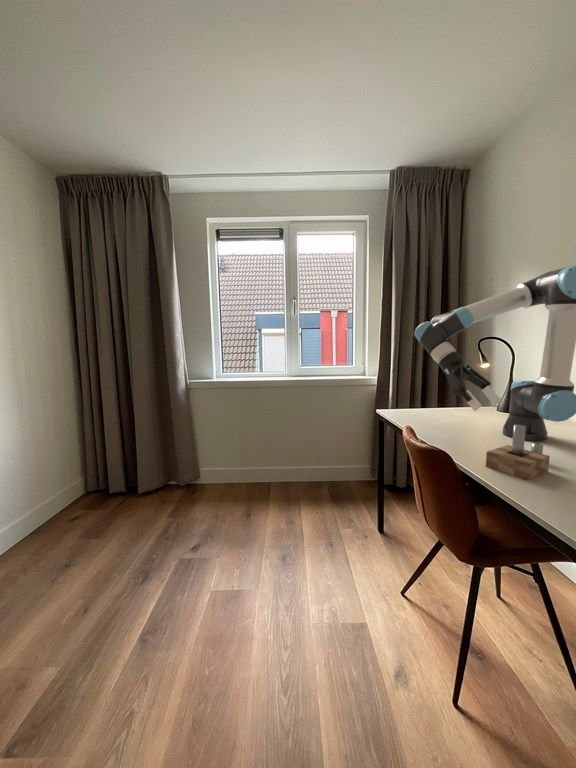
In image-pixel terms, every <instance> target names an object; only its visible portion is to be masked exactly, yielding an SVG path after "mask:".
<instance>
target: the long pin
mask: <svg viewBox="0 0 576 768" xmlns="http://www.w3.org/2000/svg"><path fill="white" fill-rule="evenodd" d="M525 430H526V426H525V425H521V424H514V430H513V438H512V441H511V442H512V443H511V446H512V453H511V455H515V456H518V457H523V452H524V449H525V441H526V440H525Z"/></svg>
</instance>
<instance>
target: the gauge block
mask: <svg viewBox="0 0 576 768" xmlns="http://www.w3.org/2000/svg"><path fill="white" fill-rule="evenodd" d="M511 453H512V445H509V444H505V445H503V446H500V447H498V448H494V449H490V450H488V451H486V456H485V457H486V458H485V468H489V469H491V470H495V471H498V472H501V473H504V474H507V475H510V476H512V477H516V478H518V479H519V478H520V479H522V480H525V481H530V480H532V479H534V478H536V477H539V476H541V475H544V474H545V473H548V472H549V466H550V465H549V464H550V455H547V454H540V453H536V452H532V451H531V450H528V449H525V448H524V452H523V457H518V456H515V455H511Z"/></svg>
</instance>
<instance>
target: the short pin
mask: <svg viewBox="0 0 576 768" xmlns="http://www.w3.org/2000/svg"><path fill="white" fill-rule="evenodd" d="M530 448H531V450H530V451H532V452H536V453H540V454H543V452H544V444H543V443H540V442H531V447H530Z"/></svg>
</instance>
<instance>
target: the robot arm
mask: <svg viewBox="0 0 576 768" xmlns="http://www.w3.org/2000/svg"><path fill="white" fill-rule="evenodd" d="M538 305H544V307H545V308H546V309H547V310H548V312H549V313H548V319H547V325H546V326H547V327H546V333H545V339H544V346H543V352H542V360H541V364H540V365H541V366H540V373H539V377H538V378H537V379H535V380H514V381H513V382H512V383H511V386H510V389H509V390H510V397H509V408H508V409H509V410H508V416H507V419H506V421H505V423H504V425H503V427H502V434H503V435H504V436H506V437H509V438H512V439H513V430H514V424H521V425H525V426H526V430H525V441H531V442H540V441H541V442H543V441H547V439H548V436H549V435H548V433H549V432H548V429H547V426H546V423H545V421H544V420H546V421H551V422H555V423H556V422H559V423H560V422H564V421H567V420H570V418H572V417H574V416H575V415H576V394H575V393H574V389H575V383H573V382H572V381H571V380H570V379H571V374H572V368H573V361H574V356H575V349H576V264H572V265H566V266H564V267H562V268H559V269H555V270H552V271H548V272H545V273H542V274H540V275H539V276H536V277H534V278H532V279H530V280H528V281H525V282H522V283H519V284H518V285H517V286H516V287H515V288H513V289H510V290H508V291H505V292H502V293H499V294H495V295H493V296H490V297H488V298H485V299H482V300H479V301H476V302H474V303H470V304H468V305H465V306H461V307H459V308H457V309H456V308H455V309H453V310H451V311H448V312H445V313H442V314H438V315H436V316H434V317H433V318H432V319H431V320H430V321H427V320H426V321H425V322H421V324H419V325H417V327H416V328H415V330H414V333H413V334H414V337H415V338H416V340H417V341H418V343H419V344H420V345H421V346H422V347H423V348H424V349H425V350H426V352H427V353H428V354H429V355H430V356H431V357H432V359H433V361H435V362H436V363H437V364H438V366H439V367H440V369H441V370H442V371H443V374H444V376H446V379H447V382H448V384H449V385H450V388H451V390H452V392H453V394H455V395H456V396H457V397H460V396H461V397H462V398H463V400H464V401H465V402H466V403H467V404H468V406H469V407H470V408H471V409H472V410H473V411H474V412H476V411H478V410H479V409H481V408H482V407H483V406H482V403H480V401H479V400H478V399H477V398H476V397H475V396H474V395H473V393H472V392H471V391H470V390H469V389H467V388H466V384H465V381H468V382H470V383H471V384H473V385H475V386H476V387H477V388H480V389H481V392H482V393H483V394H484V395H485V396H486V397H487V399H488V400H489V401H490V403H492V405H494V406H498V404H500V403H501V402H502V401H503V400H502V399H501V397H500V396H499V395H498V394H497V393H496V392H495V390H493V389H492V387H491V385H492V383H491V382H490V381H489V380H488V379H487V378H485V377H484V376H483V375H481V374H480V373H479V372H477V371H476V370H475V369H474V368H473V367H472V366H470V365H469V364H467V365H464V364H463V361H464V358H463V356H462V355H461V354H460V353H459V352H458V351H456V348H455V347H453V345H452V344H451V343H450V341H448V340H449V339H450V338H453V337H454V336H455V335H457V334H459V333H461V332H462V331H464V330H466V329H468V328H469V327H470V326H471V325H473V324H475V323H478V322H481V321H484V320H488V319H489V318H492V317H496V316H499V315H502V314H504V313H508V312H510V311H514V310H517V309H519V308H524V309H528V308H530V307H534V306H538Z"/></svg>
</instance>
